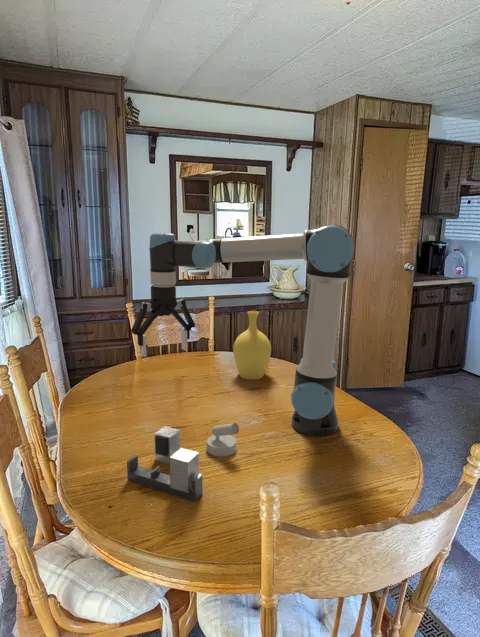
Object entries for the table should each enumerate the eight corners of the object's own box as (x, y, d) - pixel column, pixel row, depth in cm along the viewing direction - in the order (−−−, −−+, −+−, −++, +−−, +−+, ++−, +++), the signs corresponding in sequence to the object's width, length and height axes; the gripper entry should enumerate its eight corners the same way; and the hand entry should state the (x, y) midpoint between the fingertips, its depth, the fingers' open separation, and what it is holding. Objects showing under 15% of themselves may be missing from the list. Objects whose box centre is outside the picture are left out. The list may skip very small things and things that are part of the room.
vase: (228, 370, 194) (229, 308, 188) (262, 367, 199) (264, 307, 193) (239, 383, 179) (240, 316, 173) (275, 380, 184) (278, 315, 178)
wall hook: (226, 430, 120) (200, 419, 126) (226, 461, 122) (200, 449, 128) (246, 419, 126) (220, 409, 132) (245, 449, 128) (220, 438, 134)
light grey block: (165, 451, 126) (164, 426, 125) (179, 455, 124) (179, 429, 123) (153, 461, 121) (152, 434, 120) (168, 465, 119) (168, 438, 118)
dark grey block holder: (204, 492, 108) (204, 453, 106) (193, 504, 103) (193, 464, 101) (137, 472, 116) (136, 435, 114) (125, 482, 111) (124, 444, 109)
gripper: (195, 281, 142) (195, 344, 147) (118, 286, 129) (121, 354, 134) (205, 284, 136) (205, 349, 140) (126, 289, 123) (129, 361, 128)
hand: (164, 352), depth 137 cm, fingers open, 13 cm apart
